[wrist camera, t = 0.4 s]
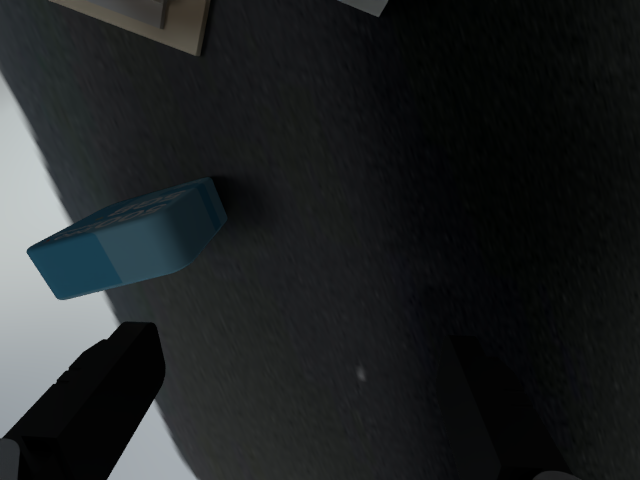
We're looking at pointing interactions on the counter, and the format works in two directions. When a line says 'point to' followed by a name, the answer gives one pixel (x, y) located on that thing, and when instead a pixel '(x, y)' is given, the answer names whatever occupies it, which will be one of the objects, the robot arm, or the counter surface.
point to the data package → (131, 240)
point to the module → (368, 5)
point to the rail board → (152, 19)
